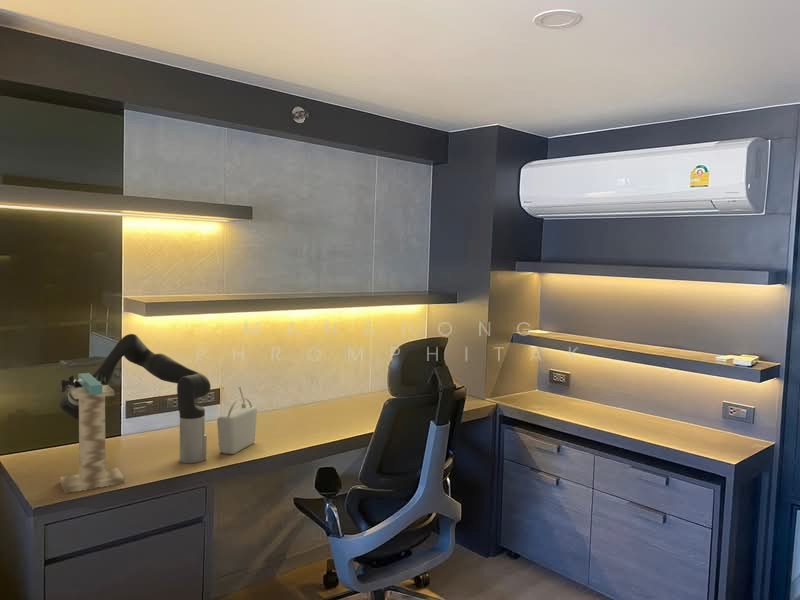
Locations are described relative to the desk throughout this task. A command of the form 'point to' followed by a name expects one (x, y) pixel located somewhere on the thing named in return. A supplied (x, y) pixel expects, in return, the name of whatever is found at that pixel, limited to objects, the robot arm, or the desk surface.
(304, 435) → the desk surface
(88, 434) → the stand
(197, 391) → the robot arm
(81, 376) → the bar
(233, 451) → the white handbag
